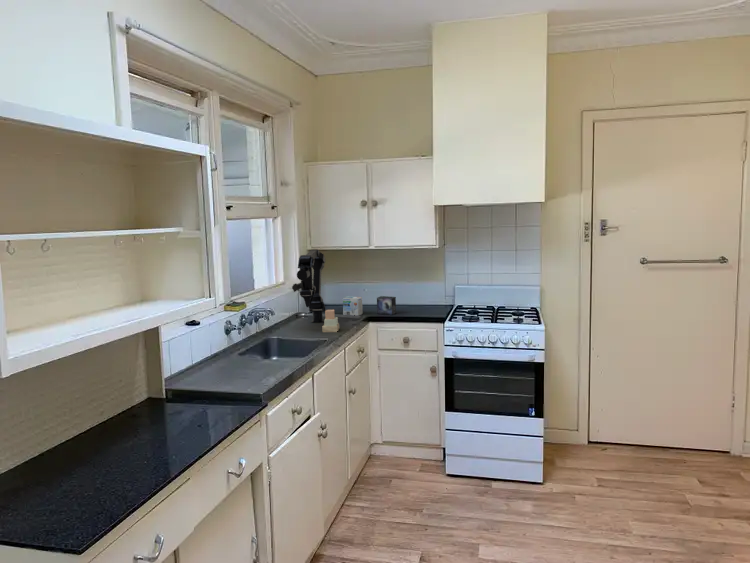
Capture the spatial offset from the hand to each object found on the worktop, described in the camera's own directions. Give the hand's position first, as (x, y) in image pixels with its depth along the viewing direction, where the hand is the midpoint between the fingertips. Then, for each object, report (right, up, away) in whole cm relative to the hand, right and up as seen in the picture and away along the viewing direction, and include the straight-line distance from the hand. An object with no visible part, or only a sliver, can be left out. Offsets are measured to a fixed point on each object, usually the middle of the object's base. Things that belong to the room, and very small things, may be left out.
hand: (308, 305), depth 312 cm
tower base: (+13, -14, -5) cm, 20 cm away
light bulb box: (+23, -7, +39) cm, 46 cm away
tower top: (+13, -10, -6) cm, 18 cm away
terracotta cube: (+12, -7, -6) cm, 16 cm away
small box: (+44, -7, +38) cm, 58 cm away
